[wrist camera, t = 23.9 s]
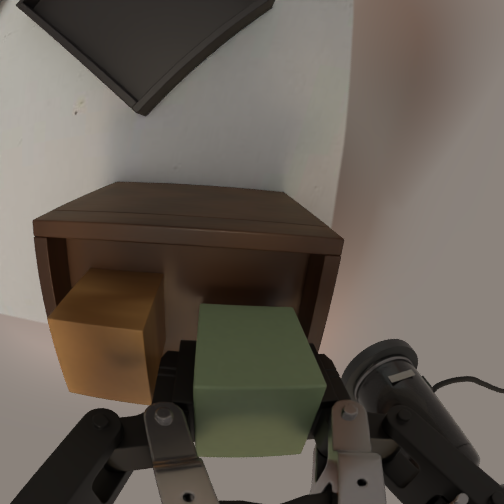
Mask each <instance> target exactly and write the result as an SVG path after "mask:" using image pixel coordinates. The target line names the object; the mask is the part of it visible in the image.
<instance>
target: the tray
mask: <svg viewBox="0 0 504 504" xmlns="http://www.w3.org/2000/svg"><path fill="white" fill-rule="evenodd" d="M274 1H275V0H20V1H19V2H18V3H17V4H16V6H17V7H18V8H19V9H20V10H22V11H23V12H24V13H25V14H26V15H27V16H29V17H30V18H31V19H32V20H33V21H34V22H36V23H37V24H38V25H39V26H40V27H41V28H43V29H44V30H45V31H46V32H47V33H48V34H49V35H51V36H52V37H53V38H54V39H55V40H56V41H57V42H59V43H60V44H61V45H62V46H63V47H64V48H65V49H66V50H68V51H69V52H70V53H71V54H72V55H73V56H74V57H75V58H77V59H78V60H79V61H80V62H81V63H82V64H83V65H84V66H85V67H87V68H88V69H89V70H90V71H91V72H92V73H93V74H94V75H95V76H97V77H98V78H99V79H100V80H101V81H102V82H103V83H104V84H105V85H107V86H108V87H109V88H110V89H111V90H112V91H113V92H114V93H115V94H116V95H117V96H119V97H120V98H121V99H122V100H123V101H124V102H125V103H126V104H127V105H128V106H129V107H130V108H132V109H133V110H134V111H135V112H136V113H138V114H141V115H143V116H146V115H147V114H148V113H149V112H150V111H151V110H152V109H153V108H154V107H155V106H156V105H157V104H158V103H159V102H160V101H161V100H162V99H163V98H164V97H165V96H166V95H167V94H168V93H169V92H170V91H171V90H172V89H173V88H174V87H175V86H176V85H177V84H178V83H179V82H180V81H181V80H182V79H183V78H184V77H186V76H187V75H188V74H189V73H190V72H191V71H192V70H193V69H194V68H195V67H197V66H198V65H199V64H200V63H201V62H202V61H203V60H205V59H206V58H207V57H208V56H209V55H210V54H212V53H213V52H214V51H215V50H216V49H218V48H219V47H220V46H221V45H222V44H224V43H225V42H226V41H227V40H229V39H230V38H231V37H232V36H234V35H235V34H236V33H238V32H239V31H240V30H242V29H243V28H244V27H246V26H247V25H248V24H250V23H251V22H252V21H254V20H255V19H257V18H258V17H259V16H261V15H262V14H264V13H265V12H267V11H268V10H269V9H271V8H272V6H273V4H274Z"/></svg>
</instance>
